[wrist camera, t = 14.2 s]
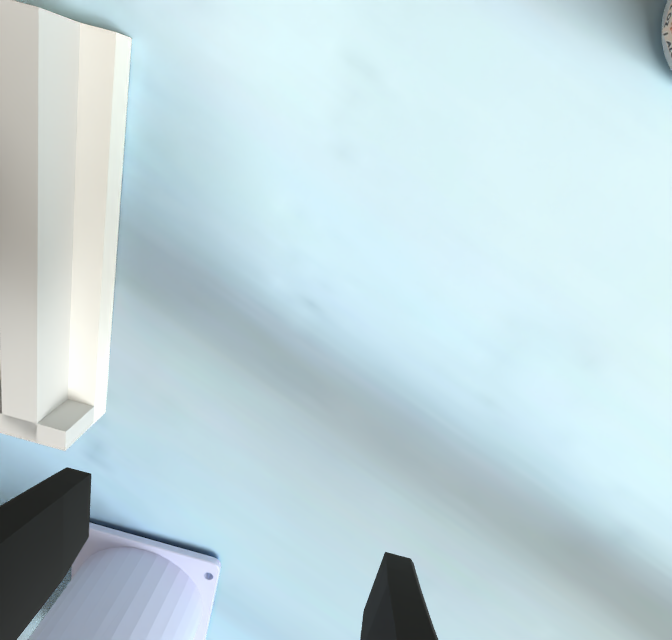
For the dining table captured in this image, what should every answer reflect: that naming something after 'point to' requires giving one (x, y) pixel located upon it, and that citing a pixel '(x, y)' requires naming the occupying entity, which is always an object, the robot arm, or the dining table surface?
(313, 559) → the dining table surface
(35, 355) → the comb rack
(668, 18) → the beer can
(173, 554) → the robot arm
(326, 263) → the dining table surface
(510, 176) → the dining table surface
